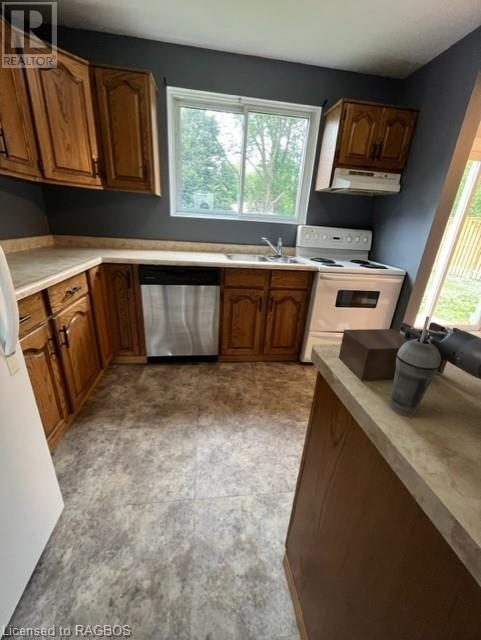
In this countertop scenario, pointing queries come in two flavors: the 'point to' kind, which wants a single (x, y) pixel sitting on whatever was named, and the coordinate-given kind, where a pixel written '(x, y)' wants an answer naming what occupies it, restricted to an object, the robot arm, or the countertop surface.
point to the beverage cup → (413, 374)
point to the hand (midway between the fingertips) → (416, 325)
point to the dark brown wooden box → (371, 352)
